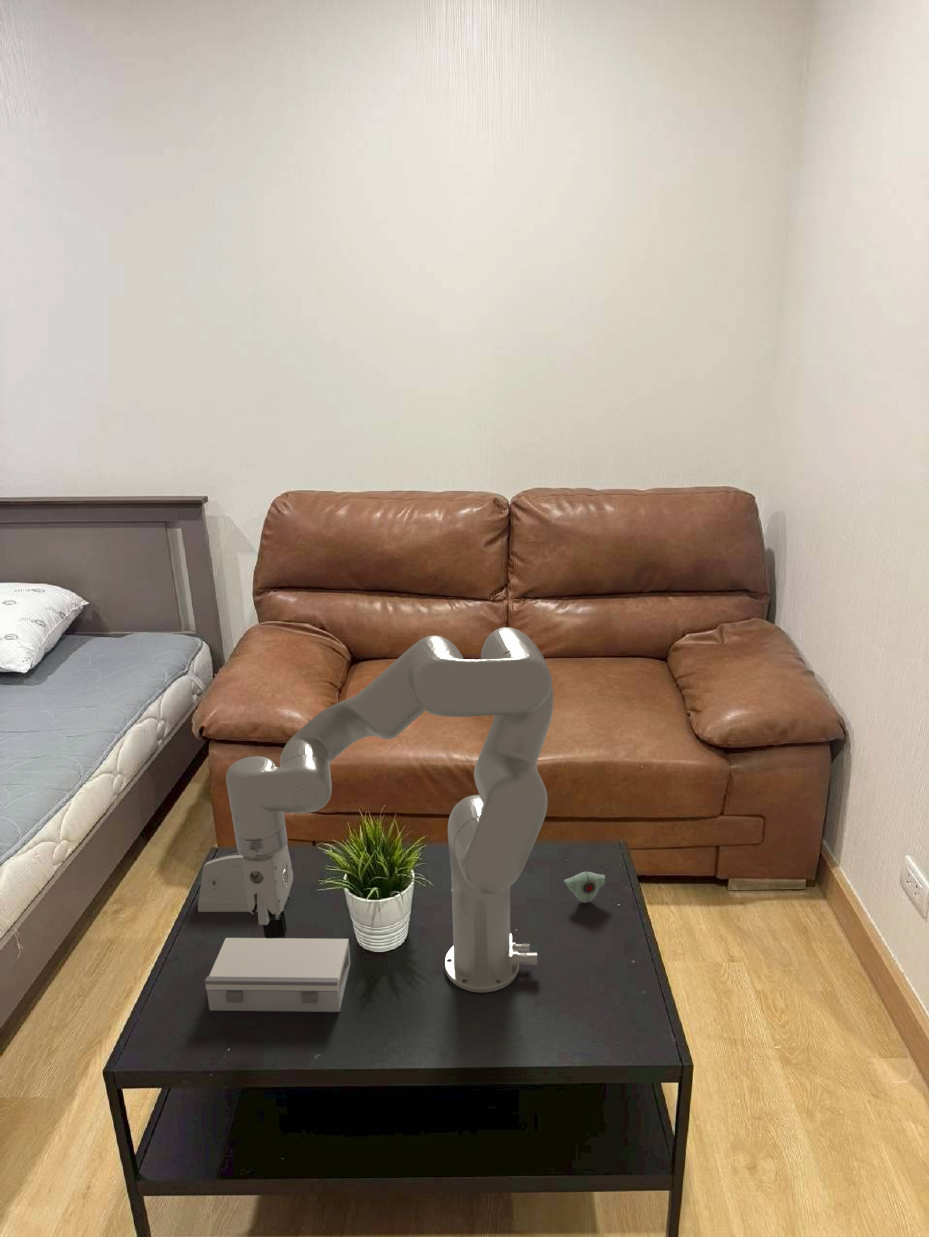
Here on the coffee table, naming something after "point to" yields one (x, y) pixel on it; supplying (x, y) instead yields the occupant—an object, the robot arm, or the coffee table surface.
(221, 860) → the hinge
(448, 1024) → the coffee table surface
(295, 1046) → the coffee table surface
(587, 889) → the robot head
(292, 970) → the cover
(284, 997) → the grey hinged box
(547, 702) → the robot arm
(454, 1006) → the coffee table surface
